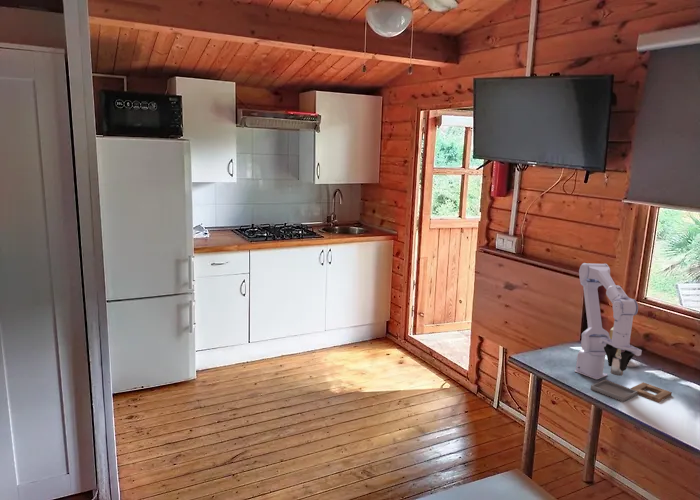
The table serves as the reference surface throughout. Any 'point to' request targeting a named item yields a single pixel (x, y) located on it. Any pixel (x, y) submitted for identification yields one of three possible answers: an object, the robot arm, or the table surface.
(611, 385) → the tray
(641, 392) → the socket block
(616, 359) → the steel pin
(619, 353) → the skincare box
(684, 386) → the table surface
